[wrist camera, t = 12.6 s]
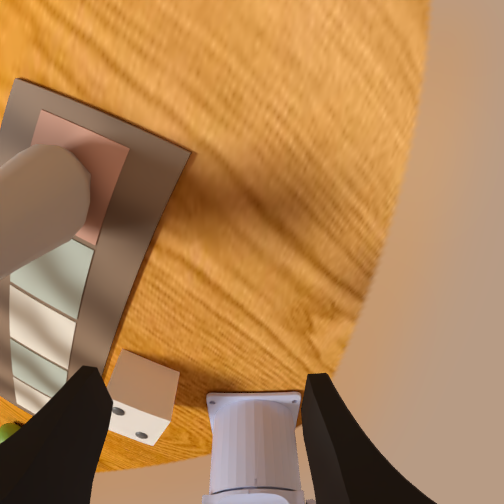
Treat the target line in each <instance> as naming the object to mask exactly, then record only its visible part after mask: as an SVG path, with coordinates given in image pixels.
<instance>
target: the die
mask: <svg viewBox="0 0 504 504" xmlns="http://www.w3.org/2000/svg"><path fill="white" fill-rule="evenodd" d="M179 375H180V372H178V371H175V370H173V369H170V368H167V367H165V366H162V365H160V364H158V363H155V362H153V361H150V360H148V359H145V358H143V357H141V356H138V355H136V354H134V353H131V352H129V351H127V350H125V349H123V348H122V350H121V353H120V355H119V358H118V360H117V363H116V365H115V368H114V371H113V373H112V376H111V378H110V381H109V384H108V386H107V390H108V392H109V394H110V396H111V398H112V400H113V408H112V414H111V419H110V424H109V428H108V430H111V431H113V432H116V433H118V434H121V435H124V436H126V437H129V438H131V439H134V440H137V441H140V442H143V443H145V444H148V445H151V446H153V445H154V444H155V443H156V441H157V440H158V438H159V437H160V436H161V434H162V433H163V431H164V430H165V429H166V427H167V426H168V425H169V423H170V422H171V417H172V412H173V406H174V401H175V395H176V390H177V385H178V380H179Z"/></svg>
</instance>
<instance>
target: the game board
mask: <svg viewBox="0 0 504 504" xmlns="http://www.w3.org/2000/svg"><path fill="white" fill-rule="evenodd" d="M35 144H45V145H58V146H61V147H63V148H65V149H67V150H68V151H70V152H72V153H73V154H74V155H75V156H76V157H77V158H78V160H79V161H80V162H81V163H82V164H83V165H84V167H85V168H86V169H87V170H88V171H89V172H90V174H91V183H90V205H89V209H88V213H87V217H86V221H85V223H84V225H83V226H82V228H81V229H80V230H79V231H78V232H77V233H76V234H75V235H74V237H73V238H72V239H71V240H70V241H69V242H67V243H65V244H63V245H61V246H59V247H57V248H56V249H54V250H52V251H50V252H48V253H46V254H44V255H43V256H41V257H39V258H37V259H35V260H34V261H32V262H30V263H28V264H27V265H25V266H23V267H21V268H20V269H18V270H16V271H14V272H13V273H11V274H9V275H8V276H6V277H4V278H3V279H1V280H0V396H1V397H3V398H4V399H6V400H7V401H9V402H11V403H12V404H14V405H16V406H17V407H19V408H20V409H22V410H24V411H26V412H27V413H29V414H31V415H33V416H34V415H35V414H36V413H37V412H38V411H39V410H40V409H41V408H42V407H43V406H44V405H45V404H46V403H47V402H48V401H49V400H50V399H51V398H52V397H53V396H54V395H55V394H56V393H57V392H58V391H59V390H60V389H61V387H62V386H63V385H64V384H65V383H66V382H67V381H68V380H69V379H70V378H71V377H72V376H73V375H74V374H75V373H76V372H77V371H78V370H79V369H80V368H81V367H82V366H83V365H84V366H92V367H97V368H98V371H99V373H100V375H101V377H102V373H103V370H104V367H105V364H106V360H107V357H108V354H109V351H110V348H111V345H112V342H113V339H114V336H115V333H116V330H117V327H118V324H119V321H120V319H121V316H122V313H123V310H124V307H125V305H126V302H127V299H128V297H129V294H130V291H131V289H132V286H133V283H134V281H135V278H136V276H137V273H138V270H139V268H140V265H141V263H142V260H143V258H144V256H145V253H146V251H147V248H148V246H149V243H150V241H151V239H152V236H153V234H154V232H155V229H156V227H157V225H158V222H159V220H160V218H161V216H162V213H163V211H164V209H165V207H166V204H167V202H168V200H169V198H170V196H171V194H172V191H173V189H174V187H175V185H176V183H177V181H178V179H179V177H180V175H181V172H182V170H183V168H184V166H185V164H186V162H187V160H188V158H189V156H190V154H191V152H190V151H188V150H186V149H183V148H181V147H179V146H177V145H175V144H173V143H171V142H169V141H167V140H165V139H162V138H160V137H158V136H156V135H154V134H152V133H149V132H147V131H145V130H143V129H141V128H138V127H136V126H134V125H132V124H130V123H127V122H125V121H123V120H121V119H118V118H116V117H114V116H111V115H109V114H107V113H104V112H102V111H100V110H97V109H95V108H93V107H90V106H88V105H86V104H83V103H81V102H78V101H76V100H73V99H71V98H68V97H66V96H63V95H61V94H58V93H56V92H53V91H51V90H48V89H46V88H43V87H40V86H38V85H35V84H32V83H30V82H27V81H24V80H22V79H19V78H15V80H14V83H13V86H12V89H11V92H10V96H9V99H8V102H7V106H6V109H5V113H4V117H3V120H2V124H1V128H0V167H1V166H2V165H3V164H5V163H6V162H7V161H9V160H10V159H11V158H13V157H14V156H15V155H17V154H18V153H19V152H21V151H23V150H25V149H27V148H29V147H31V146H33V145H35Z"/></svg>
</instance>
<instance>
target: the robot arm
mask: <svg viewBox="0 0 504 504" xmlns="http://www.w3.org/2000/svg"><path fill="white" fill-rule="evenodd" d="M206 401H207V407H208V412H209V417H210V423H211V428H212V433H213V444H212V459H211V473H210V489H209V495H203V496H202V504H305V500H304V492H303V490H301V483H300V474H299V465H298V456H297V448H296V439H295V427H296V422H297V417H298V412H299V407H300V401H301V393H299V392H277V393H208V394H207V395H206ZM112 408H113V400H112V398H111V396H110V394H109V392H108V390H107V388H106V386H105V384H104V382H103V379H102V377H101V375H100V373H99V371H98V368H97V367H92V366H84V365H83V366H82V367H81V368H80V369H79V370H78V371H77V372H76V373H75V374H74V375H73V376H72V377H71V378H70V379H69V380H68V381H67V382H66V383H65V384H64V385H63V386H62V387H61V389H60V390H59V391H58V392H57V393H56V394H55V395H54V396H53V397H52V398H51V399H50V400H49V401H48V402H47V403H46V404H45V405H44V406H43V407H42V408H41V409H40V410H39V411H38V412H37V413H36V414H35V415H34V416H33V417H32V418H31V419H30V420H29V421H28V422H27V423H26V424H25V425H23V426H22V427H21V428H20V429H19V430H18V431H16V432H15V433H14V434H13V435H11V436H10V437H9V438H7V439H6V440H5V441H3V442H2V443H0V504H90V497H91V489H92V482H93V478H94V474H95V471H96V467H97V464H98V461H99V457H100V454H101V451H102V448H103V445H104V441H105V438H106V435H107V432H108V428H109V424H110V419H111V414H112ZM301 415H302V427H303V436H304V442H305V446H306V451H307V456H308V461H309V466H310V470H311V475H312V480H313V485H314V491H315V497H316V502H315V500H313V499H310V500H306V504H437V503H435V502H434V501H432V500H431V499H430V498H428V497H427V496H426V495H424V494H423V493H422V492H421V491H420V490H418V489H417V488H416V487H415V486H414V485H412V484H411V483H410V482H409V481H408V480H406V479H405V478H404V477H403V476H402V475H401V474H400V473H399V472H398V471H397V470H396V469H395V468H394V467H393V466H392V465H391V464H390V463H389V462H388V460H386V458H385V457H384V456H383V455H382V454H381V453H380V452H379V450H378V449H377V448H376V447H375V446H374V444H373V443H372V442H371V441H370V439H369V438H368V437H367V436H366V434H365V433H364V431H363V430H362V429H361V427H360V426H359V424H358V423H357V422H356V420H355V419H354V417H353V416H352V414H351V413H350V411H349V410H348V409H347V407H346V405H345V403H344V402H343V400H342V399H341V397H340V395H339V394H338V392H337V390H336V388H335V387H334V385H333V383H332V381H331V379H330V377H329V375H328V374H326V373H319V374H308V375H307V380H306V386H305V391H304V397H303V402H302V407H301Z"/></svg>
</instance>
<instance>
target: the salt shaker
mask: <svg viewBox="0 0 504 504" xmlns="http://www.w3.org/2000/svg"><path fill="white" fill-rule="evenodd" d="M90 183H91V174H90V172H89V171H88V170H87V169H86V168H85V167H84V165H83V164H82V163H81V162H80V161H79V160H78V158H77V157H76V156H75V155H74V154H73V153H72V152H70V151H68V150H67V149H65V148H63V147H61V146H58V145H45V144H35V145H33V146H31V147H29V148H27V149H25V150H23V151H21V152H19V153H18V154H17V155H15V156H14V157H13V158H11V159H10V160H9V161H7V162H6V163H5V164H3V165H2V166H1V167H0V280H1V279H3V278H4V277H6V276H8V275H9V274H11V273H13V272H14V271H16V270H18V269H20V268H21V267H23V266H25V265H27V264H28V263H30V262H32V261H34V260H35V259H37V258H39V257H41V256H43V255H44V254H46V253H48V252H50V251H52V250H54V249H56V248H57V247H59V246H61V245H63V244H65V243H67V242H69V241H70V240H71V239H72V238H73V237H74V235H75V234H76V233H77V232H78V231H79V230H80V229H81V228H82V226H83V225H84V223H85V221H86V217H87V213H88V209H89V205H90Z"/></svg>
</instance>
